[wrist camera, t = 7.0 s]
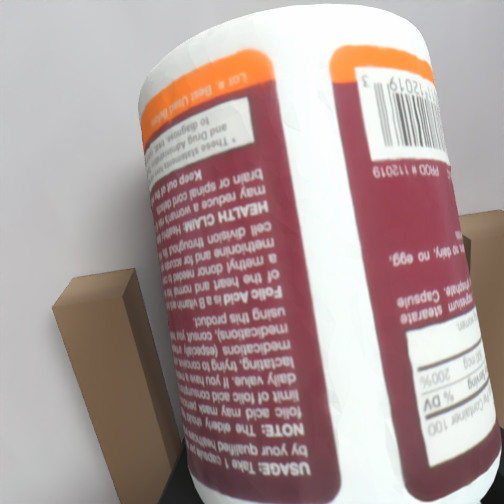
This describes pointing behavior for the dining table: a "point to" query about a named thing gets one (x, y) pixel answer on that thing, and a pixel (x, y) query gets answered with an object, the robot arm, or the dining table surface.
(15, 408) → the dining table surface
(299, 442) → the pill bottle
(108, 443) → the socket block
